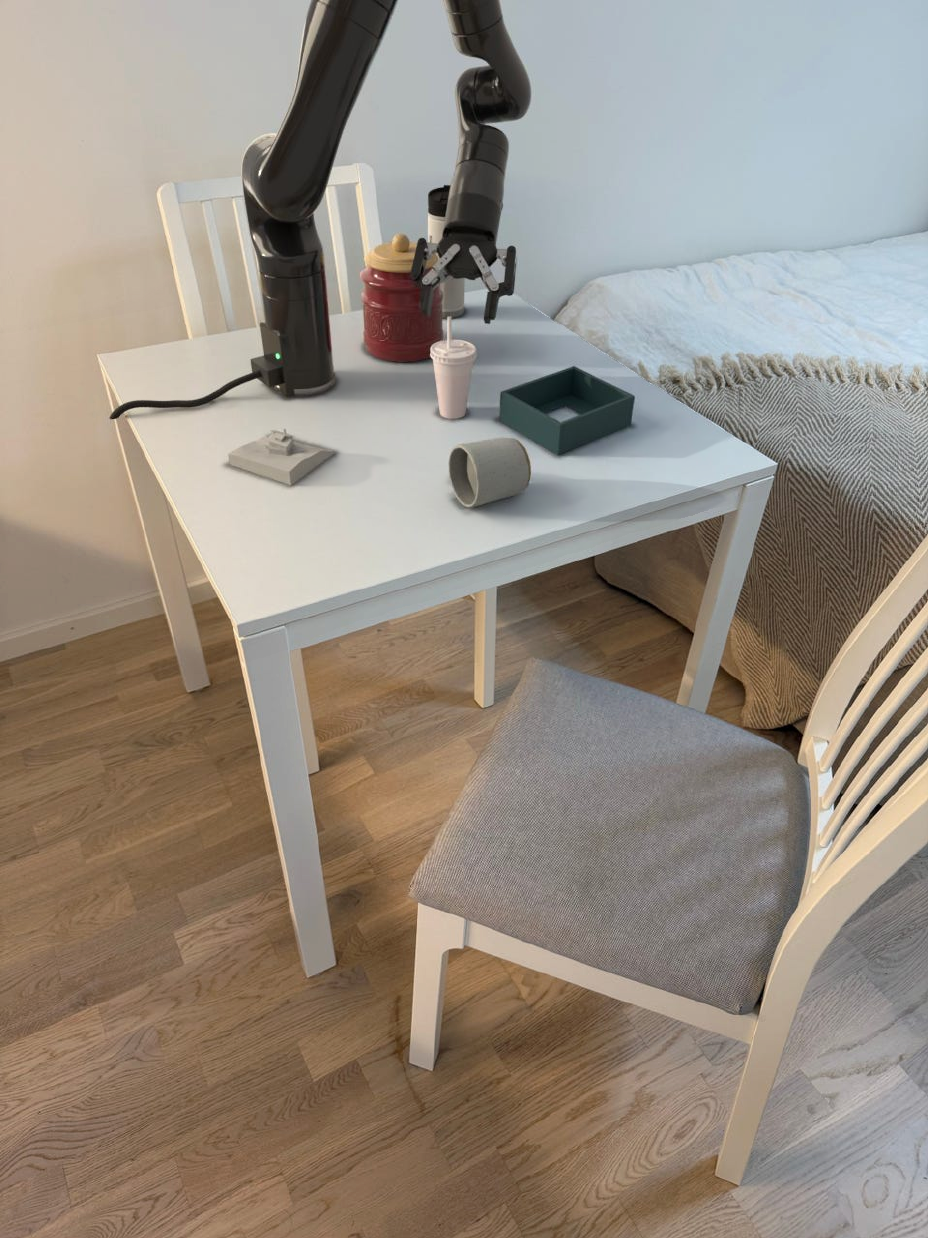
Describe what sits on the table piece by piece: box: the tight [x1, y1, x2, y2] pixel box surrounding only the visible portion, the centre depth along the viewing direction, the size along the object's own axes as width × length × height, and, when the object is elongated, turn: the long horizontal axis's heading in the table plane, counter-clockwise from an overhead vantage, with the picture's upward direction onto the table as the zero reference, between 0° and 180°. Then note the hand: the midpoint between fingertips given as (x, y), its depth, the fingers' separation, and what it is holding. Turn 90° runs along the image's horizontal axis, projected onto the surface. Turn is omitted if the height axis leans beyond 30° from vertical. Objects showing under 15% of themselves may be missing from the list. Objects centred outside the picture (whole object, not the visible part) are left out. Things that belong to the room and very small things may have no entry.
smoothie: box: [430, 316, 477, 420], centre depth 123 cm, size 6×6×14 cm
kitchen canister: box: [359, 233, 444, 363], centre depth 139 cm, size 13×13×18 cm
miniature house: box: [227, 428, 335, 486], centre depth 115 cm, size 12×11×4 cm
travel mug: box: [427, 184, 466, 319], centre depth 150 cm, size 6×7×20 cm
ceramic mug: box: [448, 437, 532, 509], centre depth 109 cm, size 11×8×8 cm
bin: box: [498, 365, 636, 456], centre depth 124 cm, size 14×12×4 cm
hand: (456, 318), depth 121 cm, fingers open, 8 cm apart
